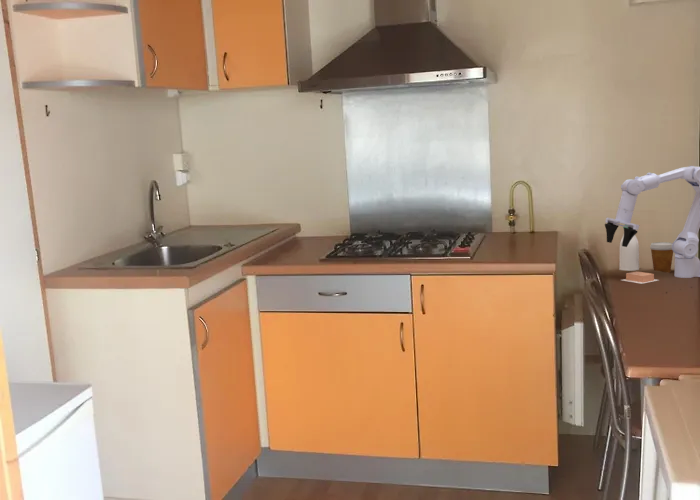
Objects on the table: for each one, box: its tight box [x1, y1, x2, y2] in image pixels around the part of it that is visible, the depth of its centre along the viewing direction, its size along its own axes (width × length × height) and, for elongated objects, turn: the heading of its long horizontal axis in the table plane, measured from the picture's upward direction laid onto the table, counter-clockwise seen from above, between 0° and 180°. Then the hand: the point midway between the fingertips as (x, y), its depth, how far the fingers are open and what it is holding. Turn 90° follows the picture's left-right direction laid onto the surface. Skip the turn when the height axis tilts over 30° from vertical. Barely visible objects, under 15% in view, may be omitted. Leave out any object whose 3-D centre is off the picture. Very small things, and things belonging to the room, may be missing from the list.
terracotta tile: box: [625, 270, 655, 283], centre depth 289 cm, size 6×8×2 cm
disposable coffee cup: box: [649, 241, 674, 274], centre depth 309 cm, size 10×10×12 cm
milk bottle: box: [618, 224, 640, 272], centre depth 312 cm, size 8×8×20 cm
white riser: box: [621, 278, 659, 284], centre depth 289 cm, size 10×10×2 cm
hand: (616, 244), depth 290 cm, fingers open, 7 cm apart
